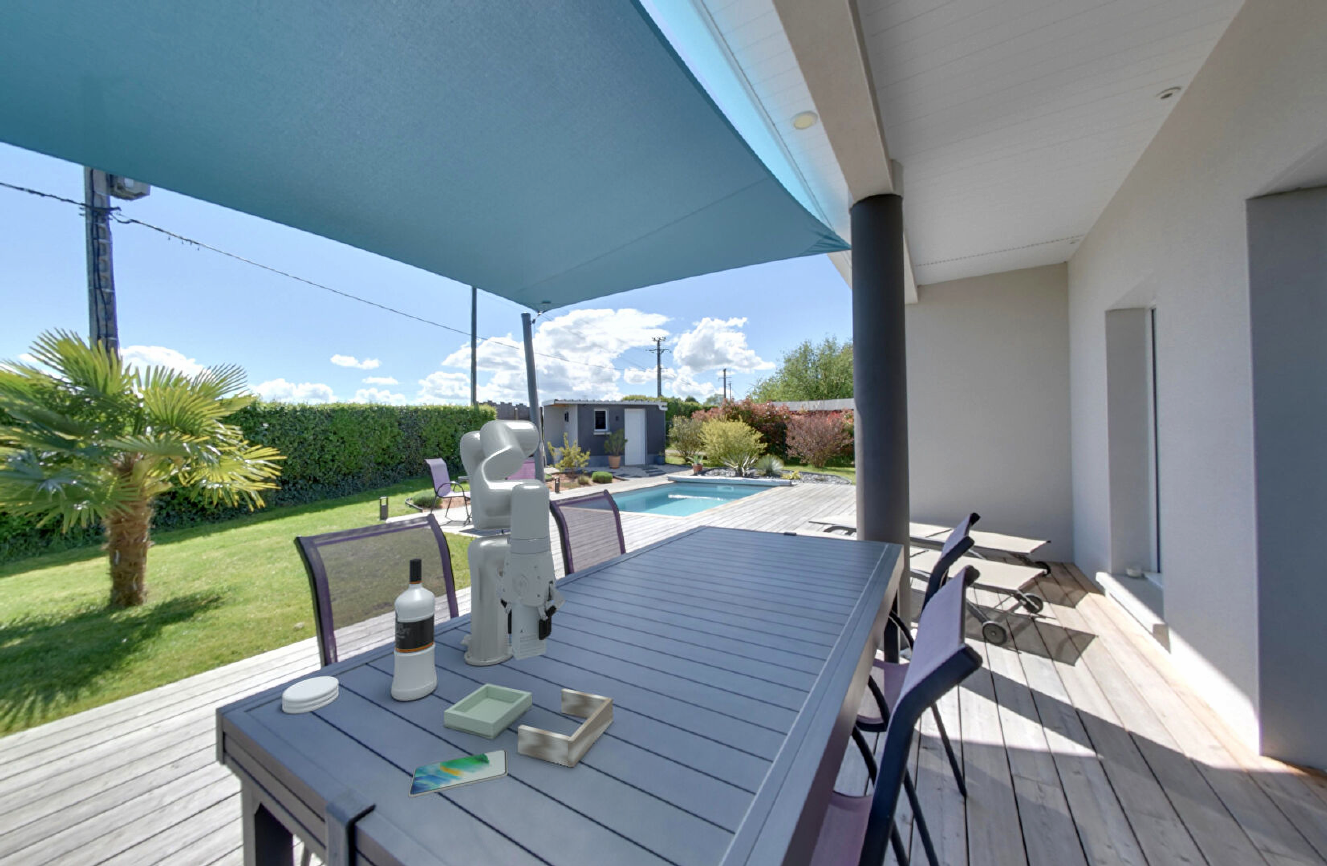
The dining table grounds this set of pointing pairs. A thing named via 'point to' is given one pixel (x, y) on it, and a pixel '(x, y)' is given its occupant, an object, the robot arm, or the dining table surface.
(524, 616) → the skincare box
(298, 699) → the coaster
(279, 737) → the dining table surface
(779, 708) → the dining table surface
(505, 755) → the smartphone
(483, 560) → the robot arm
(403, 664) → the vodka
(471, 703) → the tray
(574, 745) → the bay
